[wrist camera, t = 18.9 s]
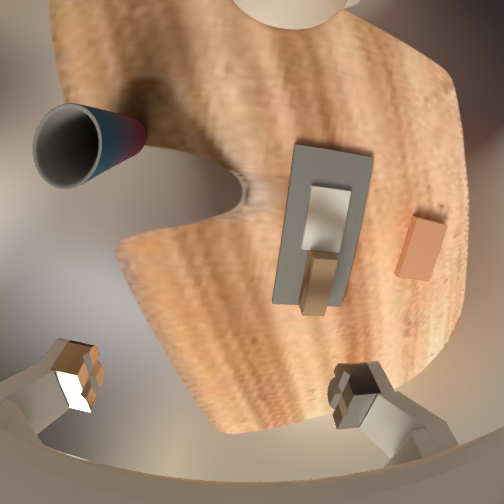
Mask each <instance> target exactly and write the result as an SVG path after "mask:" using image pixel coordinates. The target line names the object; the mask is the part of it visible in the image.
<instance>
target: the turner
mask: <svg viewBox="0 0 504 504" xmlns="http://www.w3.org/2000/svg"><path fill="white" fill-rule="evenodd" d="M350 195H351V191H349V190H342V189H335V188H328V187H321V186H313V185H311V188H310V194H309V201H308V207H307V214H306V220H305V226H304V232H303V238H302V244H301V249H302V250H308V254H307V259H306V265H305V270H304V275H303V280H302V286H301V291H300V296H299V301H298V304H299V307H300V309H301V312H302V315H305V316H325V312H326V308H327V304H328V300H329V296H330V292H331V288H332V284H333V280H334V276H335V271H336V267H337V263H338V260H337V258H336V257H335V255H334V254H333V253H332V252H338V253H339V251H340V246H341V242H342V237H343V232H344V227H345V222H346V217H347V212H348V206H349V201H350Z"/></svg>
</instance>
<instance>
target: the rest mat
mask: <svg viewBox="0 0 504 504" xmlns="http://www.w3.org/2000/svg"><path fill="white" fill-rule="evenodd" d="M372 164H373V158H372V157H367V156H362V155H357V154H352V153H347V152H341V151H335V150H330V149H324V148H317V147H311V146H304V145H297V144H294V150H293V158H292V166H291V173H290V181H289V188H288V196H287V203H286V210H285V217H284V224H283V231H282V238H281V245H280V251H279V258H278V265H277V271H276V278H275V284H274V290H273V297H272V304H287V305H299V304H298V301H299V296H300V291H301V286H302V280H303V275H304V270H305V265H306V259H307V254H308V250H302V249H301V244H302V238H303V232H304V226H305V220H306V214H307V207H308V201H309V194H310V188H311V185H313V186H321V187H328V188H335V189H342V190H349V191H351V195H350V201H349V206H348V212H347V217H346V222H345V227H344V232H343V237H342V242H341V246H340V251H339V253H338V252H332V253H333V254H334V255H335V257H336V258H337V260H338V263H337V267H336V271H335V276H334V280H333V284H332V288H331V292H330V296H329V300H328V304H327V306H339V307H341V305H342V301H343V298H344V294H345V290H346V287H347V283H348V279H349V275H350V271H351V267H352V263H353V259H354V255H355V250H356V246H357V242H358V237H359V233H360V228H361V223H362V218H363V214H364V209H365V204H366V198H367V193H368V188H369V182H370V176H371V170H372Z"/></svg>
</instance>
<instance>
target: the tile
mask: <svg viewBox="0 0 504 504" xmlns="http://www.w3.org/2000/svg"><path fill="white" fill-rule="evenodd" d="M446 229H447V225H445V224H444V223H441V222H438V221H434V220H430V219H426V218H422V217H418V216H413V215H412V219H411V223H410V226H409V229H408V233H407V236H406V239H405V243H404V246H403V249H402V252H401V255H400V258H399V261H398V264H397V267H396V270H395V274H396V276H397V277H399V278H407V279H415V280H424V281H429V279H430V276H431V273H432V271H433V268H434V265H435V262H436V260H437V257H438V254H439V251H440V248H441V245H442V242H443V239H444V236H445V232H446Z"/></svg>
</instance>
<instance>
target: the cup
mask: <svg viewBox="0 0 504 504" xmlns="http://www.w3.org/2000/svg"><path fill="white" fill-rule="evenodd" d="M145 141H146V131H145V128H144V126H143V124H142V123H141V122H140V121H139V120H137V119H135V118H133V117H129V116H125V115H121V114H117V113H113V112H109V111H105V110H101V109H97V108H93V107H89V106H84V105H80V104H74V103H67V104H62V105H59V106H57V107H55V108H54V109H52V110H50V112H48V113H47V114H46V115H45V116H44V118H43V119H42V120H41V122H40V124H39V125H38V128H37V130H36V133H35V136H34V141H33V157H34V162H35V166H36V168H37V170H38V172H39V174H40V175H41V177H42V178H43V179H44V180H45V181H46V182H47V183H48V184H50V185H52V186H54V187H55V188H59V189H72V188H76V187H78V186H80V185H82V184H83V183H85V182H87V181H89V180H90V179H92V178H94V177H95V176H97V175H99V174H101V173H102V172H104V171H106V170H108V169H110V168H111V167H113V166H115V165H117V164H119V163H121V162H122V161H124V160H127V159H128V158H130V157H132V156H134V155H136V154H137V153H139V152H140V151H141V149H142V148H143V146H144V144H145Z"/></svg>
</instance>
